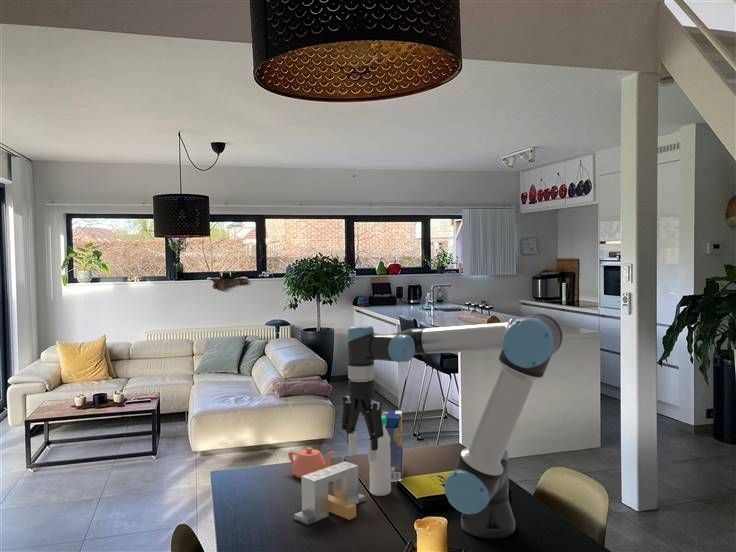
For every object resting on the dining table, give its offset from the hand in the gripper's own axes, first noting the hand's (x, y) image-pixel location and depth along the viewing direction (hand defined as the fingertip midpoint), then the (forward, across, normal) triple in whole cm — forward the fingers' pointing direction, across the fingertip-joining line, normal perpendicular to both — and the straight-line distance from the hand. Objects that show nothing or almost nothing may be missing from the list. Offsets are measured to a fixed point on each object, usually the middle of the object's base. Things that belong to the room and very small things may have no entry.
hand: (362, 457), depth 174 cm
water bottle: (+19, +12, -20) cm, 30 cm away
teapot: (+19, +42, -16) cm, 49 cm away
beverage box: (+19, +19, -34) cm, 43 cm away
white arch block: (+19, +14, 0) cm, 24 cm away
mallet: (+19, +15, 0) cm, 24 cm away
